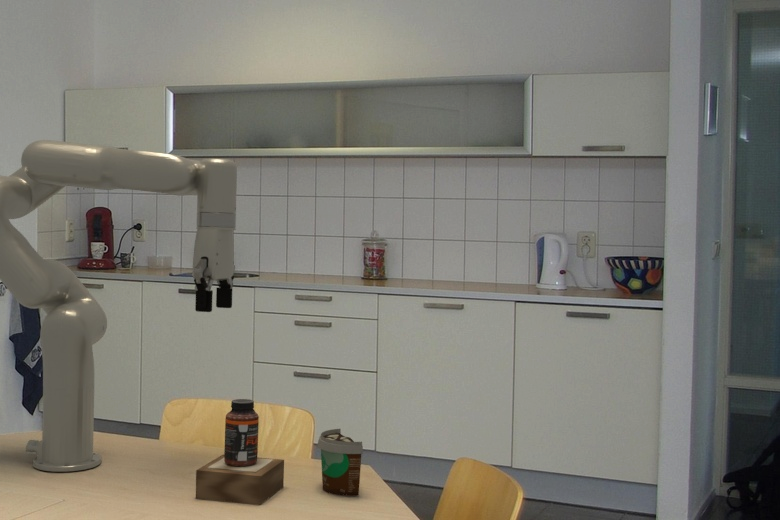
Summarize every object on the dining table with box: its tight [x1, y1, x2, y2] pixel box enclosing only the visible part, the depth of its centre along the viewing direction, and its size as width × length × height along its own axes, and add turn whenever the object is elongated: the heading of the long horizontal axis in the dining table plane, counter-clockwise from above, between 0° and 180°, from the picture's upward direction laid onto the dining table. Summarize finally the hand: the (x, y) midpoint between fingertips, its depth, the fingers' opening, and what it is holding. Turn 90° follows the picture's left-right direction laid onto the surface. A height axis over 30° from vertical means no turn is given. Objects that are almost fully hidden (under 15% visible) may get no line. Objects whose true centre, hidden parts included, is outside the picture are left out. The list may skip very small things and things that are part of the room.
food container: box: [316, 428, 364, 497], centre depth 171 cm, size 12×6×10 cm, turn 23°
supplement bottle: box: [223, 398, 260, 466], centre depth 168 cm, size 6×6×11 cm
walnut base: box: [195, 453, 285, 506], centre depth 168 cm, size 12×12×5 cm
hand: (214, 309), depth 183 cm, fingers open, 9 cm apart
